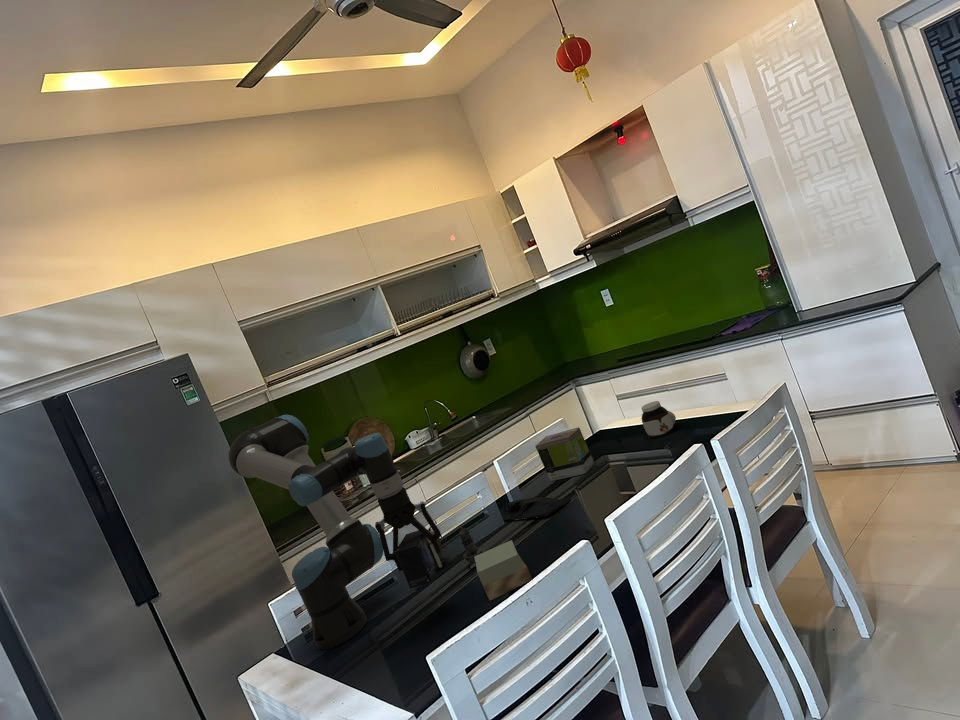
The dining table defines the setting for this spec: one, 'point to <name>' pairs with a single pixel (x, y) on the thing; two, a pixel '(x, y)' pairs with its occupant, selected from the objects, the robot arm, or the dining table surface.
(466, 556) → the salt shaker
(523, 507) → the dark slate chunk
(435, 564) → the small box
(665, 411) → the spread jar
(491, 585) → the tower bottom
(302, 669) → the dining table surface
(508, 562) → the tower top
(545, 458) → the tea box
